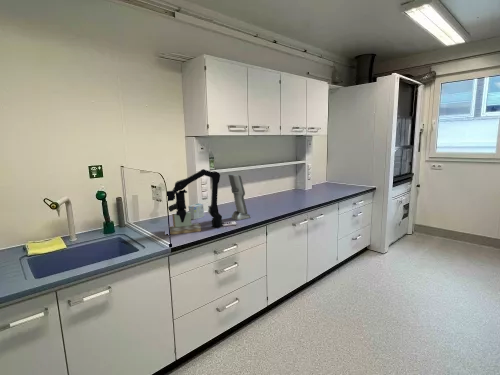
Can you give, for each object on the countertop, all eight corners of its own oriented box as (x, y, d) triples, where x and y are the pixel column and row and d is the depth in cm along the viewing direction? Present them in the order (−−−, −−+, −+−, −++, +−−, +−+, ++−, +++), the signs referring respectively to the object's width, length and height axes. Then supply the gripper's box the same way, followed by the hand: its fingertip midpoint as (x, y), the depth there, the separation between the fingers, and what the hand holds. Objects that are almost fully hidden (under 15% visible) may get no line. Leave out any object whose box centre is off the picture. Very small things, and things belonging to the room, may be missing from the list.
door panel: (191, 224, 186) (190, 212, 185) (191, 225, 184) (190, 212, 183) (173, 226, 184) (172, 213, 182) (173, 227, 182) (172, 214, 180)
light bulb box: (199, 215, 225) (198, 203, 223) (204, 216, 221) (203, 203, 219) (188, 218, 217) (187, 205, 215) (194, 219, 212) (193, 206, 211)
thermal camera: (229, 217, 214) (226, 174, 208) (242, 214, 221) (240, 172, 215) (237, 220, 204) (234, 175, 199) (251, 217, 211) (249, 173, 206)
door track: (200, 227, 192) (200, 222, 191) (201, 231, 183) (200, 226, 182) (165, 231, 186) (165, 226, 186) (164, 235, 178) (164, 230, 177)
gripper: (169, 198, 188) (171, 219, 191) (167, 203, 170) (169, 227, 173) (185, 196, 191) (187, 218, 193) (185, 202, 173) (187, 225, 175)
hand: (182, 221), depth 184 cm, fingers closed on door panel, 2 cm apart
